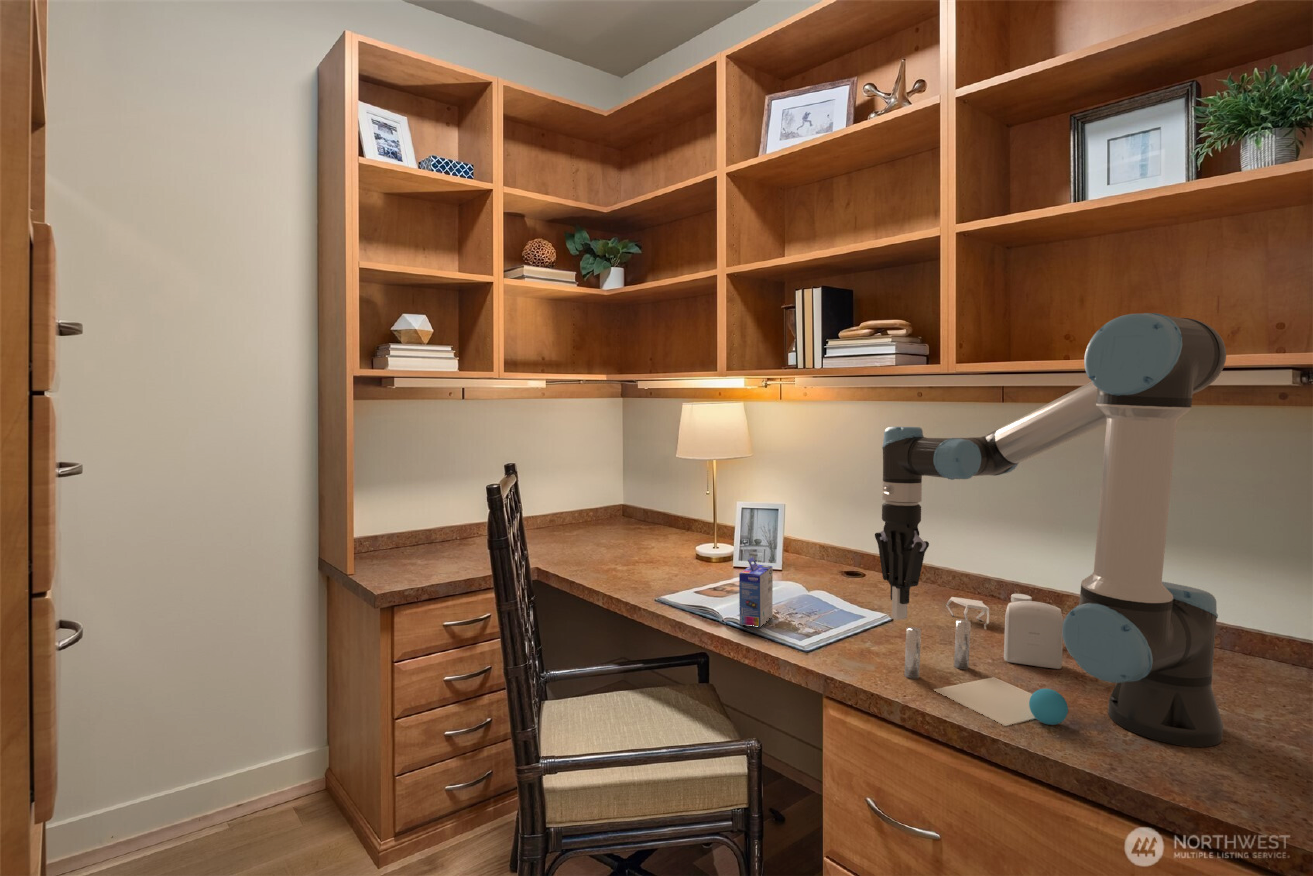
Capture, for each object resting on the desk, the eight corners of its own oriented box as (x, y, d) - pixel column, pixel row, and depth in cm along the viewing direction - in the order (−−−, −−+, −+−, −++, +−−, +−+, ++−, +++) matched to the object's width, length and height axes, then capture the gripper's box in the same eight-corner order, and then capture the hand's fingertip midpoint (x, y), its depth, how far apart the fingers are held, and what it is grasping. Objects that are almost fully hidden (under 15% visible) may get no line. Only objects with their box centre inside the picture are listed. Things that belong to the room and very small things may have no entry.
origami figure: (1001, 624, 168) (1002, 603, 167) (987, 631, 162) (988, 610, 162) (950, 612, 176) (951, 592, 176) (935, 619, 170) (936, 598, 170)
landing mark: (1068, 710, 121) (1068, 709, 121) (1005, 726, 115) (1005, 725, 115) (993, 678, 135) (993, 677, 135) (933, 690, 128) (933, 689, 128)
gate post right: (971, 668, 139) (973, 622, 139) (961, 670, 138) (963, 624, 138) (960, 663, 142) (962, 618, 141) (951, 665, 141) (953, 620, 140)
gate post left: (922, 677, 134) (924, 630, 134) (911, 679, 133) (913, 632, 133) (912, 672, 137) (913, 626, 136) (901, 674, 135) (903, 627, 135)
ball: (1045, 715, 120) (1076, 726, 115) (1022, 721, 117) (1053, 732, 112) (1043, 682, 120) (1075, 691, 115) (1020, 687, 118) (1051, 696, 113)
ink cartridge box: (750, 613, 172) (752, 553, 171) (773, 617, 170) (774, 556, 169) (737, 625, 163) (738, 562, 162) (760, 629, 161) (762, 565, 160)
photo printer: (1003, 663, 143) (1006, 601, 142) (1002, 656, 146) (1005, 596, 146) (1062, 672, 138) (1066, 608, 138) (1060, 664, 142) (1063, 603, 142)
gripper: (865, 499, 150) (863, 612, 151) (911, 507, 138) (908, 629, 139) (892, 498, 153) (890, 608, 154) (940, 505, 141) (937, 624, 142)
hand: (899, 618), depth 146 cm, fingers closed
